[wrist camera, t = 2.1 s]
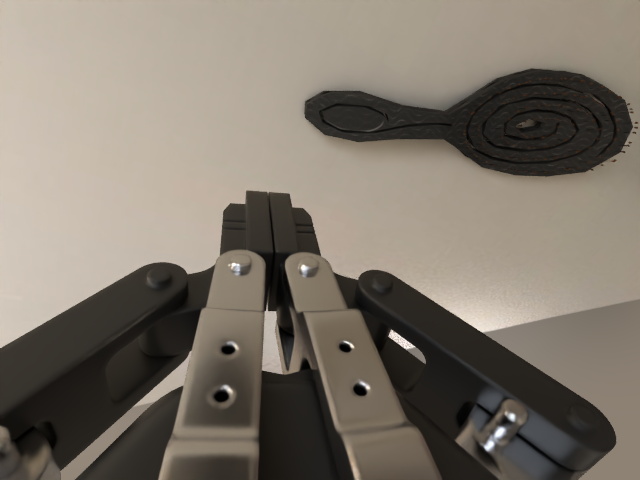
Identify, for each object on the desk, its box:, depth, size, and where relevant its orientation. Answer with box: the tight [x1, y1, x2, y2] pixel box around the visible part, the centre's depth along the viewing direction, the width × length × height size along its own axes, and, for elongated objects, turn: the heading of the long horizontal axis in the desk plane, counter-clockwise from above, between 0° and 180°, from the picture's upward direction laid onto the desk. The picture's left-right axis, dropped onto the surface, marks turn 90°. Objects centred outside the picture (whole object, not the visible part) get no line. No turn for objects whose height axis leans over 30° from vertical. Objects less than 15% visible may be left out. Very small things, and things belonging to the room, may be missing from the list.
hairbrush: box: [304, 69, 638, 176], centre depth 29 cm, size 8×4×25 cm
